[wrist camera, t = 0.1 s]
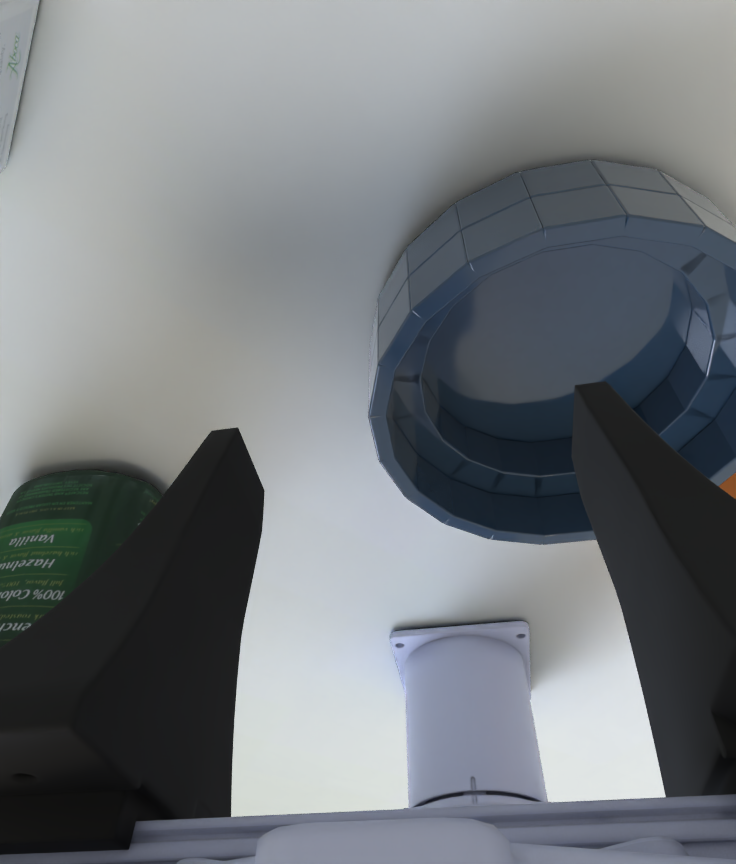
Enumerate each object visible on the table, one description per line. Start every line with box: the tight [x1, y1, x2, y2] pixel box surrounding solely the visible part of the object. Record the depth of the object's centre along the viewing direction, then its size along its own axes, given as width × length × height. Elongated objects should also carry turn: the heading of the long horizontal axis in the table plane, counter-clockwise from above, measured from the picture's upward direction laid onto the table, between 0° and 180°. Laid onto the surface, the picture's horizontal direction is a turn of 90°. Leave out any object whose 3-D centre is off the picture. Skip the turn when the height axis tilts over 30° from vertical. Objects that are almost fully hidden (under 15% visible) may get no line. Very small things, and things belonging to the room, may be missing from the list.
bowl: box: [368, 160, 736, 545], centre depth 22 cm, size 13×13×4 cm
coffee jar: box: [0, 470, 162, 647], centre depth 25 cm, size 10×8×19 cm
